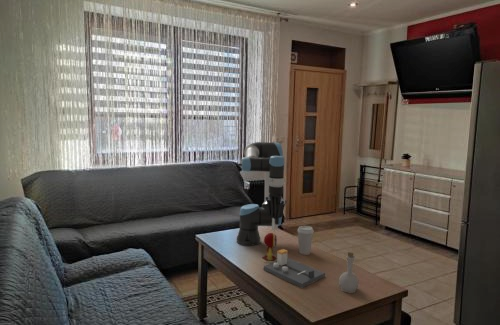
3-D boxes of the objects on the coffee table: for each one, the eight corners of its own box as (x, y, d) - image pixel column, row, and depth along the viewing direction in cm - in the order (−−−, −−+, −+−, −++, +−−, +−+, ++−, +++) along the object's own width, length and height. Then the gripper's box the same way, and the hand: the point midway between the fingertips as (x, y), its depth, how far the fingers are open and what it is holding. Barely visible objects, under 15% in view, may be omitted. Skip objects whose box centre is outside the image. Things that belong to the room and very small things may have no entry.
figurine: (279, 262, 187) (280, 236, 185) (260, 262, 187) (261, 235, 185) (277, 256, 196) (278, 231, 194) (260, 256, 196) (261, 230, 194)
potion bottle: (334, 289, 160) (337, 251, 157) (345, 283, 166) (347, 246, 164) (352, 296, 153) (354, 257, 151) (362, 289, 160) (364, 252, 157)
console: (263, 269, 178) (263, 260, 178) (286, 260, 190) (287, 252, 190) (301, 287, 160) (302, 277, 159) (324, 276, 172) (325, 267, 171)
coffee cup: (312, 250, 207) (313, 225, 205) (313, 256, 198) (314, 230, 196) (296, 249, 208) (297, 224, 206) (296, 255, 199) (297, 229, 197)
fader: (276, 263, 180) (277, 251, 179) (282, 261, 183) (283, 248, 182) (281, 265, 178) (281, 252, 177) (287, 263, 181) (287, 250, 180)
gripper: (262, 184, 182) (260, 228, 185) (280, 188, 173) (279, 234, 175) (272, 183, 187) (270, 225, 190) (290, 186, 178) (288, 231, 181)
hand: (274, 229), depth 183 cm, fingers closed
